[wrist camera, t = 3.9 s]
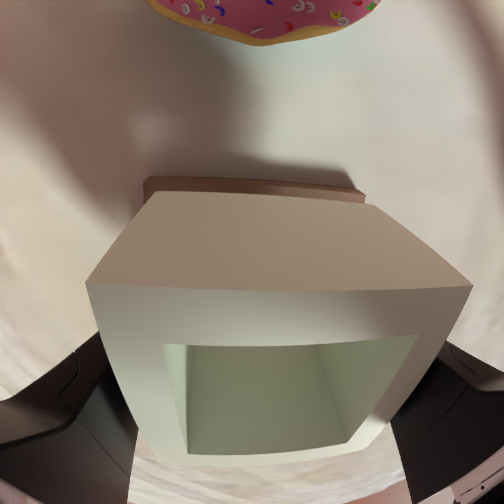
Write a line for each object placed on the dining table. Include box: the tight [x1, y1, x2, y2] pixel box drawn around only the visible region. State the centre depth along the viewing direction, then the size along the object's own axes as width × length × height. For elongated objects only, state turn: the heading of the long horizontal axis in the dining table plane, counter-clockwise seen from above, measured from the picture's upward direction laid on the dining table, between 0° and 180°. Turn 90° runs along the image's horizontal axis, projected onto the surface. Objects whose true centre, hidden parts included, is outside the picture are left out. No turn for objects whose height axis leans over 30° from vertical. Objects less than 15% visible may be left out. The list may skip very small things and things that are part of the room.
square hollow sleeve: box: [85, 191, 473, 466], centre depth 8 cm, size 7×7×5 cm
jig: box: [143, 177, 366, 205], centre depth 14 cm, size 16×10×6 cm, turn 175°
